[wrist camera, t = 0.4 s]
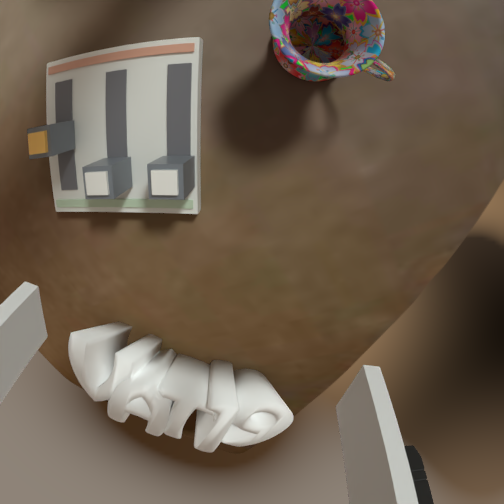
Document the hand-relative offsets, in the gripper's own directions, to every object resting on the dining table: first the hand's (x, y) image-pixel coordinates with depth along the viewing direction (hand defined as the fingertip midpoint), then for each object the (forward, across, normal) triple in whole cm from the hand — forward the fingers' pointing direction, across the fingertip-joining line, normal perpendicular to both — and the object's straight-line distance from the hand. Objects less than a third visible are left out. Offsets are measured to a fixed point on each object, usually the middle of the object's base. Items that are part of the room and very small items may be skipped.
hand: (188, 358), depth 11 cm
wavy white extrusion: (+28, -3, -32) cm, 43 cm away
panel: (+27, -16, +4) cm, 32 cm away
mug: (+28, +5, +17) cm, 33 cm away
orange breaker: (+25, -23, +2) cm, 34 cm away
